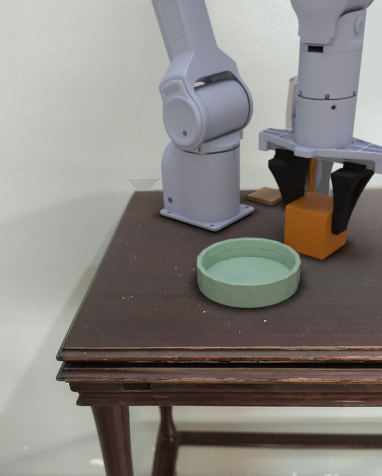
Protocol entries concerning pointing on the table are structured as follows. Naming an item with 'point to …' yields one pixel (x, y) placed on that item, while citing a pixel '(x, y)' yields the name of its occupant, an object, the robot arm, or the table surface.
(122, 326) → the table surface
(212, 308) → the table surface
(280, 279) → the celadon bowl
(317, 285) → the table surface
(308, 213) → the orange cube
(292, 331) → the table surface
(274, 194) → the cork coaster
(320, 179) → the beer glass
